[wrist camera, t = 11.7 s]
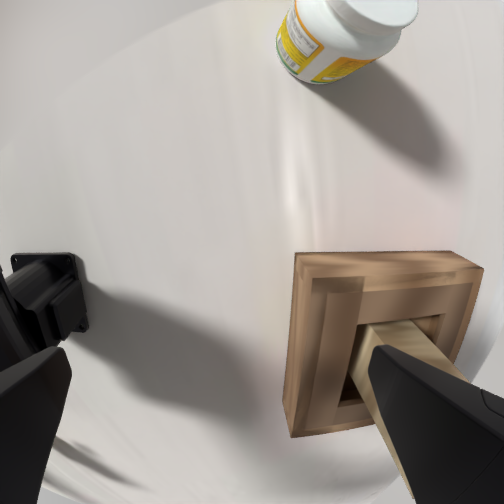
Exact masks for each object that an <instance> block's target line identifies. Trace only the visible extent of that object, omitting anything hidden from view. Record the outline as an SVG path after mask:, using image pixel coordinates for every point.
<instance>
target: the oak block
mask: <svg viewBox="0 0 504 504" xmlns="http://www.w3.org/2000/svg"><path fill="white" fill-rule="evenodd" d="M383 344H389V345H391V346H393V347H395V348H397V349H399V350H401V351H403V352H405V353H407V354H409V355H411V356H413V357H415V358H417V359H420V360H422V361H424V362H426V363H428V364H430V365H432V366H434V367H436V368H438V369H440V370H443V371H445V372H447V373H449V374H451V375H453V376H455V377H457V378H460V379H462V380H464V381H466V382H468V383H470V382H469V381H468V380H467V379H466V378H465V377H464V376H463V375H462V373H461V372H460V371H459V370H458V369H457V368H456V367H455V366H454V365H453V364H452V363H451V362H450V361H449V359H448V358H447V357H446V356H445V355H444V354H443V353H442V352H441V351H440V350H439V349H438V348H437V347H436V346H435V345H434V344H433V343H432V342H431V341H430V340H429V339H428V337H427V336H426V335H425V334H424V333H423V332H422V331H421V330H420V329H419V328H418V327H417V326H416V325H415V324H414V323H413V322H412V321H411V320H410V319H402V320H394V321H385V322H377V323H367V324H358V325H357V328H356V333H355V338H354V342H353V347H352V351H351V356H350V360H349V364H348V369H347V370H348V372H349V374H350V376H351V378H352V379H353V381H354V383H355V385H356V387H357V389H358V391H359V393H360V395H361V397H362V398H363V400H364V402H365V404H366V406H367V408H368V410H369V412H370V414H371V416H372V418H373V420H374V422H375V424H376V426H377V428H378V429H379V431H380V433H381V435H382V437H383V439H384V441H385V443H386V445H387V447H388V449H389V451H390V453H391V455H392V457H393V459H394V461H395V463H396V465H397V467H398V469H399V471H400V473H401V476H402V478H403V480H404V481H405V483H406V486H407V488H408V490H409V492H410V494H411V496H412V498H413V499H414V496H413V493H412V491H411V488H410V486H409V483H408V480H407V478H406V475H405V473H404V470H403V468H402V465H401V463H400V460H399V458H398V456H397V453H396V451H395V448H394V446H393V443H392V441H391V439H390V436H389V434H388V432H387V429H386V427H385V425H384V422H383V420H382V417H381V415H380V412H379V409H378V405H377V402H376V399H375V395H374V392H373V389H372V386H371V383H370V379H369V376H368V366H369V362H370V358H371V355H372V351H373V348H374V347H375V346H377V345H383ZM470 384H471V383H470Z"/></svg>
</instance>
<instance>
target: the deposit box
mask: <svg viewBox="0 0 504 504" xmlns="http://www.w3.org/2000/svg"><path fill="white" fill-rule="evenodd" d="M483 272H484V269H483V268H482V267H480V266H478V265H476V264H475V263H473V262H471V261H469V260H467V259H465V258H463V257H462V256H460V255H458V254H456V253H454V252H452V251H383V252H299V253H295V261H294V277H293V291H292V304H291V317H290V329H289V340H288V351H287V361H286V371H285V381H284V390H283V399H282V402H283V406H284V411H285V415H286V419H287V424H288V428H289V432H290V436H291V438H297V437H305V436H313V435H320V434H326V433H332V432H338V431H344V430H349V429H354V428H359V427H364V426H368V425H373V424H375V422H374V420H373V418H372V416H371V414H370V412H369V410H368V408H367V406H366V404H365V402H364V400H363V398H362V397H361V395H360V393H359V391H358V389H357V387H356V385H355V383H354V381H353V379H352V378H351V376H350V374H349V372H348V370H347V369H348V364H349V360H350V356H351V351H352V347H353V342H354V338H355V333H356V328H357V325H358V324H367V323H377V322H385V321H394V320H402V319H410V320H411V321H412V322H413V323H414V324H415V325H416V326H417V327H418V328H419V329H420V330H421V331H422V332H423V333H424V334H425V335H426V336H427V337H428V339H429V340H430V341H431V342H432V343H433V344H434V345H435V346H436V347H437V348H438V349H439V350H440V351H441V352H442V353H443V354H444V355H445V356H446V357H447V358H448V359H449V361H450V362H451V363H452V364H454V362H455V359H456V357H457V354H458V352H459V349H460V347H461V344H462V341H463V339H464V336H465V333H466V330H467V327H468V324H469V321H470V318H471V315H472V312H473V309H474V306H475V302H476V299H477V295H478V292H479V288H480V284H481V280H482V276H483Z"/></svg>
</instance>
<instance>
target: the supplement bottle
mask: <svg viewBox="0 0 504 504" xmlns="http://www.w3.org/2000/svg"><path fill="white" fill-rule="evenodd" d="M417 14H418V0H294V1H293V3H292V5H291V7H290V8H289V10H288V12H287V14H286V16H285V18H284V20H283V23H282V25H281V27H280V29H279V31H278V33H277V36H276V41H275V48H276V53H277V56H278V58H279V60H280V62H281V64H282V65H283V66H284V68H285V69H286V70H287V71H288V72H289V73H291V74H292V75H293V76H295V77H296V78H298V79H300V80H302V81H305V82H308V83H312V84H327V83H332V82H335V81H338V80H339V79H341V78H343V77H345V76H347V75H348V74H350V73H352V72H354V71H355V70H357V69H359V68H361V67H363V66H365V65H366V64H368V63H370V62H372V61H374V60H376V59H378V58H380V57H382V56H384V55H385V54H387V53H388V52H390V51H391V50H392V49H393V48H394V47H395V46H396V44H397V43H398V41H399V38H400V35H401V30H402V29H403V28H405V27H406V26H408V25H410V24H411V23H412V22H413V21H414V20H415V18H416V16H417Z"/></svg>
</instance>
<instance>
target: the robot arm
mask: <svg viewBox="0 0 504 504" xmlns="http://www.w3.org/2000/svg"><path fill="white" fill-rule="evenodd" d="M15 258H16V260H17V261H16V260H15ZM67 258H69V260H70V262H68V261H67ZM11 265H12V269H13V274H11V275H10V276H8V277H7V278H6V279H4V277H3V274H2V268H1V266H0V504H37V500H38V495H39V492H40V488H41V484H42V480H43V476H44V472H45V469H46V465H47V462H48V458H49V455H50V451H51V448H52V445H53V442H54V439H55V436H56V432H57V429H58V426H59V424H60V420H61V417H62V413H63V409H64V405H65V401H66V397H67V393H68V389H69V385H70V381H71V378H72V370H71V367H70V364H69V361H68V359H67V356H66V353H65V351H64V349H63V348H61V347H57V346H58V344H59V343H60V342H61V341H65V340H66V338H67V337H68V336H69V334H70V333H71V332H82V333H84V332H86V331H87V330H88V328H89V325H88V321H87V316H86V306H85V302H84V297H83V292H82V288H81V283H80V281H79V279H78V274H77V268H76V262H75V258H74V256H73V254H71V253H15V254H13V255H12V256H11ZM81 325H83V326H84V327H82V326H81ZM368 376H369V379H370V383H371V386H372V389H373V392H374V395H375V399H376V402H377V405H378V409H379V412H380V415H381V417H382V420H383V422H384V425H385V427H386V429H387V432H388V434H389V436H390V439H391V441H392V443H393V446H394V448H395V451H396V453H397V456H398V458H399V460H400V463H401V465H402V468H403V470H404V473H405V475H406V478H407V480H408V483H409V486H410V488H411V491H412V493H413V496H414V499H415V501H416V504H504V399H503V398H501V397H499V396H497V395H494V394H492V393H490V392H488V391H485V390H483V389H480V388H479V387H477V386H474V385H472V384H470V383H468V382H466V381H464V380H462V379H460V378H457V377H455V376H453V375H451V374H449V373H447V372H445V371H443V370H440V369H438V368H436V367H434V366H432V365H430V364H428V363H426V362H424V361H422V360H420V359H417V358H415V357H413V356H411V355H409V354H407V353H405V352H403V351H401V350H399V349H397V348H395V347H393V346H391V345H389V344H383V345H377V346H375V347H374V348H373V351H372V355H371V358H370V362H369V366H368Z"/></svg>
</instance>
